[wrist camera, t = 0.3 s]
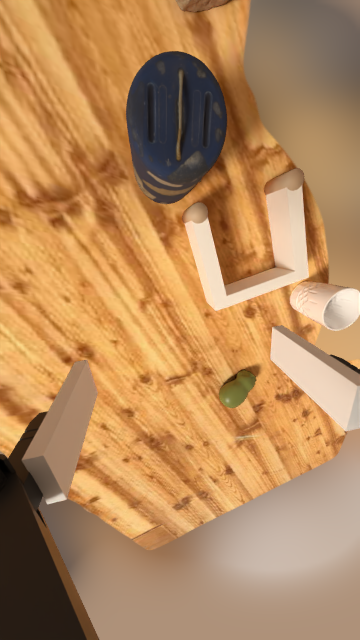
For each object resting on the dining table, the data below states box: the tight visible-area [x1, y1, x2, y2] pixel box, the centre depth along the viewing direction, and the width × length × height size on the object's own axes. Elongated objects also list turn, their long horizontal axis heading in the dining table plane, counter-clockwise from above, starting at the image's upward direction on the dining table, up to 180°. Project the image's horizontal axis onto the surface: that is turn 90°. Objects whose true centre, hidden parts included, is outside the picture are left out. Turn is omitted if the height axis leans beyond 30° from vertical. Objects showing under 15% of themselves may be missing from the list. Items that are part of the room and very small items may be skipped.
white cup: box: [290, 281, 360, 331], centre depth 42 cm, size 8×8×10 cm
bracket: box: [182, 168, 309, 311], centre depth 37 cm, size 17×18×6 cm
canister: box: [126, 51, 227, 204], centre depth 26 cm, size 10×10×18 cm
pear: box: [219, 370, 256, 408], centre depth 50 cm, size 6×5×10 cm
